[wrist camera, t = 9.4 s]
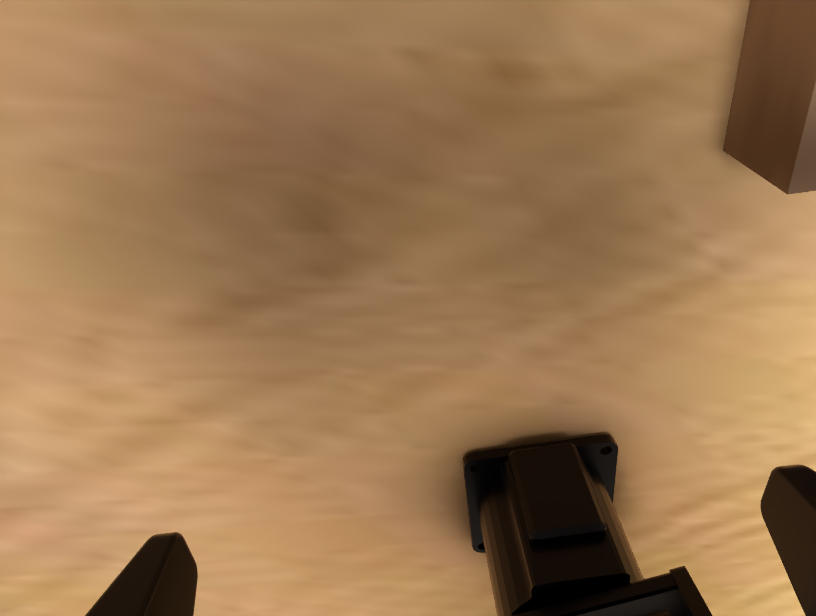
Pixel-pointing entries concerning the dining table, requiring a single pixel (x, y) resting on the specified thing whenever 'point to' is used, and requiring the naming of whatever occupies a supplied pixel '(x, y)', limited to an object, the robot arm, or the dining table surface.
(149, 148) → the dining table surface
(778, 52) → the walnut box
